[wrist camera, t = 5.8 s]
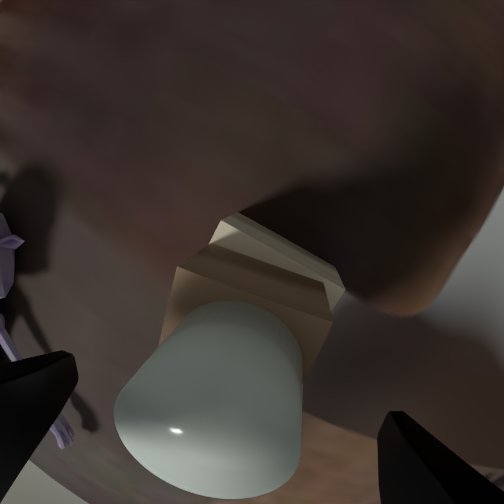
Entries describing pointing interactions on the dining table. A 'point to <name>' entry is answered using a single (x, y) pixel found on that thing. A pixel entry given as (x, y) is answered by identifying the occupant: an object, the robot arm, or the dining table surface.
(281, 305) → the top block
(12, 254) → the toy
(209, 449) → the grey rounded cylinder
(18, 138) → the dining table surface
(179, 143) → the dining table surface
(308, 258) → the base block
